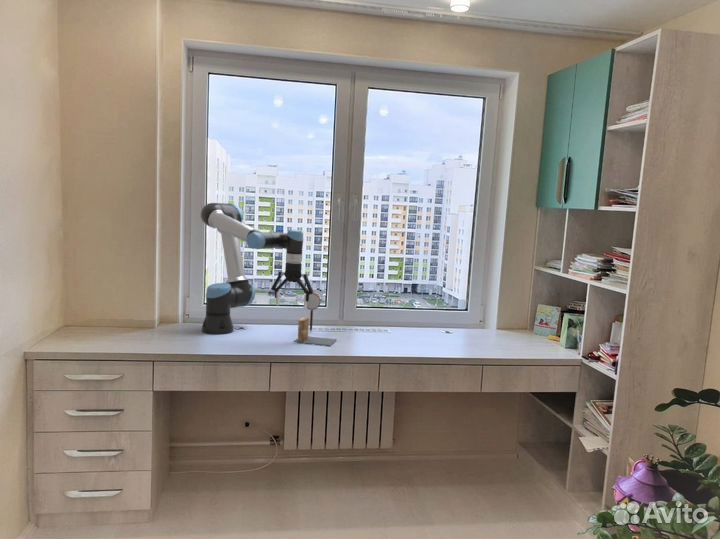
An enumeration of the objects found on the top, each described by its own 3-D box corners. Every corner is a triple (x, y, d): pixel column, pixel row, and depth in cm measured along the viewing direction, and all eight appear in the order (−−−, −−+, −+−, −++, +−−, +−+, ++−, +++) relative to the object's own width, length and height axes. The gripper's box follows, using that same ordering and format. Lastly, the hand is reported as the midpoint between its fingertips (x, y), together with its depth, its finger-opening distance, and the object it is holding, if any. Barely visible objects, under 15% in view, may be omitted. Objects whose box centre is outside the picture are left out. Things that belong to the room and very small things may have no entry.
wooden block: (297, 340, 246) (298, 320, 245) (302, 337, 253) (302, 317, 252) (303, 341, 246) (304, 320, 245) (308, 338, 253) (308, 317, 251)
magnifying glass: (319, 331, 271) (320, 293, 269) (319, 331, 269) (321, 293, 267) (302, 330, 270) (304, 292, 267) (302, 331, 268) (304, 293, 266)
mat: (293, 342, 245) (293, 341, 245) (301, 336, 257) (301, 335, 257) (330, 346, 242) (330, 345, 242) (336, 340, 254) (336, 339, 253)
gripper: (265, 260, 245) (263, 305, 248) (317, 265, 241) (314, 310, 243) (271, 259, 252) (269, 302, 255) (321, 264, 248) (318, 307, 251)
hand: (291, 306), depth 249 cm, fingers open, 13 cm apart
